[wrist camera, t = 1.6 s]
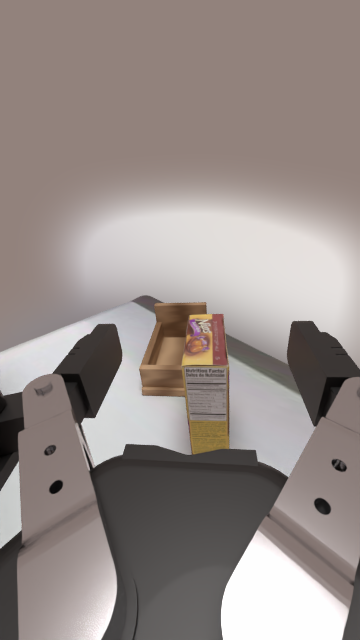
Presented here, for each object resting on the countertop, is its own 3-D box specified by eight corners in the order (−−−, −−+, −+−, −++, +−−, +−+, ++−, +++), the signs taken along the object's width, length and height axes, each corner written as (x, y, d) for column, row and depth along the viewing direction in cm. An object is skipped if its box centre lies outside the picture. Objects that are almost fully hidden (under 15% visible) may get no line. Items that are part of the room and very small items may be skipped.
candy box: (194, 407, 36) (188, 312, 29) (225, 408, 36) (227, 312, 28) (190, 470, 29) (179, 364, 21) (229, 472, 28) (233, 364, 21)
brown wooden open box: (142, 395, 39) (133, 352, 35) (160, 338, 52) (155, 302, 48) (205, 397, 38) (204, 352, 34) (207, 338, 51) (206, 301, 47)
